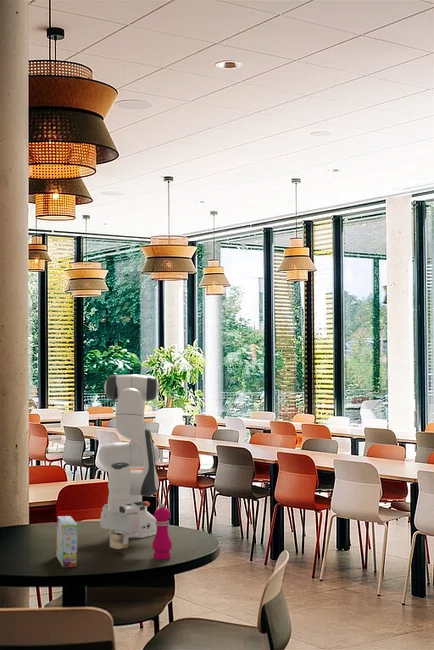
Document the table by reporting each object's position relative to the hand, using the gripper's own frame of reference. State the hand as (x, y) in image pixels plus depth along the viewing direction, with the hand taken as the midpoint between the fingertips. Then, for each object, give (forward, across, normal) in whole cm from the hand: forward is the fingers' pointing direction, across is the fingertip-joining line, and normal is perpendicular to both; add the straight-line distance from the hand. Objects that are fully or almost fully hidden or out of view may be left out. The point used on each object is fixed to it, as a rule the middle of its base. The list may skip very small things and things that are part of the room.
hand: (119, 542), depth 346 cm
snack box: (+4, 0, -24) cm, 24 cm away
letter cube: (+2, 0, 0) cm, 2 cm away
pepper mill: (+4, +18, +6) cm, 19 cm away
